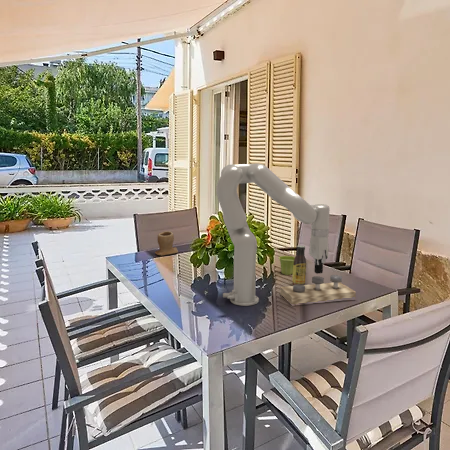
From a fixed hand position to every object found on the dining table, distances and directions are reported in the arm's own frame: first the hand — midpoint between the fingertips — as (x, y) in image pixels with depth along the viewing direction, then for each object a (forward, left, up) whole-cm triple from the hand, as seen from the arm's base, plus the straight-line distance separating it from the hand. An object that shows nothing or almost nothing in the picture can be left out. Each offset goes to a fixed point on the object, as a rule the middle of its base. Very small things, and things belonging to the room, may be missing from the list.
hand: (318, 272), depth 181 cm
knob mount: (0, 0, -12) cm, 12 cm away
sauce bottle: (-1, +18, -12) cm, 22 cm away
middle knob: (0, 0, -9) cm, 9 cm away
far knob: (+9, 0, -9) cm, 12 cm away
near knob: (-9, 0, -12) cm, 15 cm away
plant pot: (+1, +38, -12) cm, 40 cm away
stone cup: (-58, +95, -12) cm, 112 cm away
